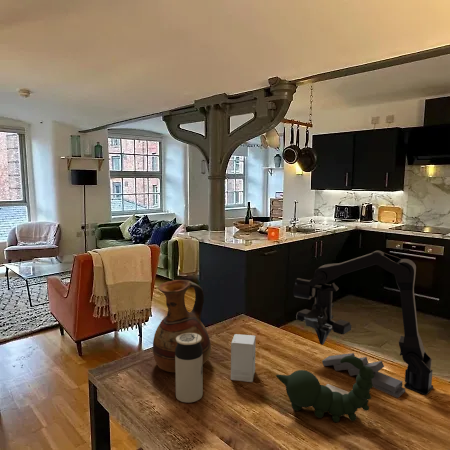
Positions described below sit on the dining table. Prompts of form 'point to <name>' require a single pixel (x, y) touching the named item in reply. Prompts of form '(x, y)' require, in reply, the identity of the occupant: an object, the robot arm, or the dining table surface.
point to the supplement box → (243, 357)
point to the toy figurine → (329, 392)
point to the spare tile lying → (337, 389)
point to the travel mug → (189, 367)
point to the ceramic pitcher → (179, 323)
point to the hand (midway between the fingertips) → (321, 344)
